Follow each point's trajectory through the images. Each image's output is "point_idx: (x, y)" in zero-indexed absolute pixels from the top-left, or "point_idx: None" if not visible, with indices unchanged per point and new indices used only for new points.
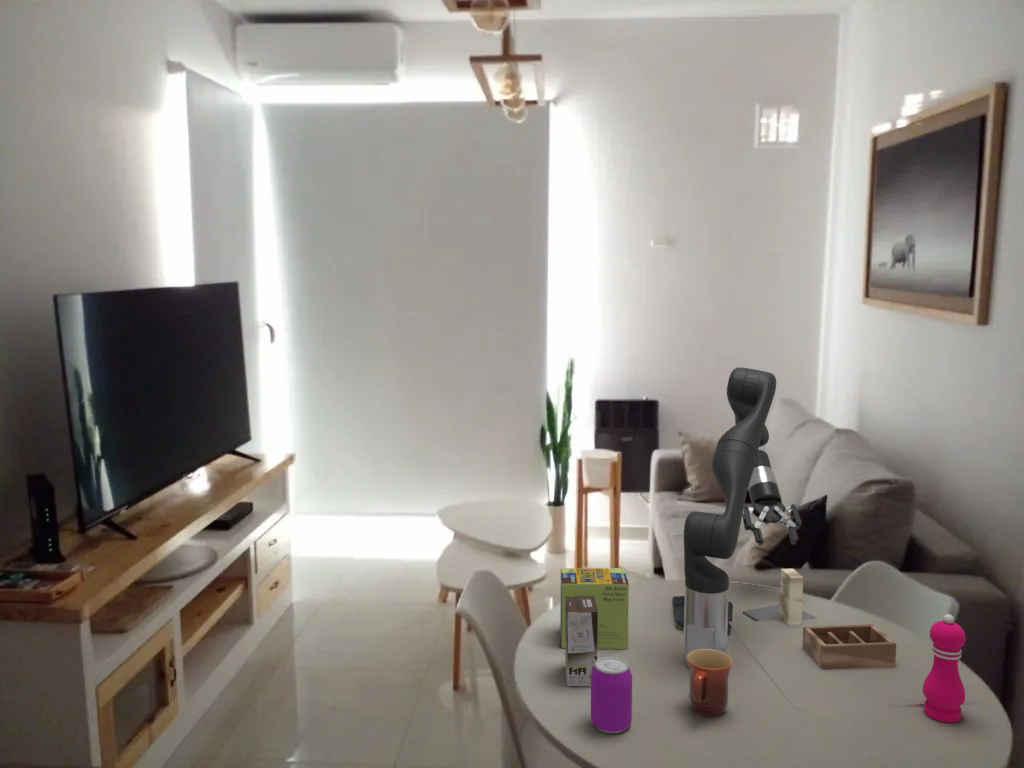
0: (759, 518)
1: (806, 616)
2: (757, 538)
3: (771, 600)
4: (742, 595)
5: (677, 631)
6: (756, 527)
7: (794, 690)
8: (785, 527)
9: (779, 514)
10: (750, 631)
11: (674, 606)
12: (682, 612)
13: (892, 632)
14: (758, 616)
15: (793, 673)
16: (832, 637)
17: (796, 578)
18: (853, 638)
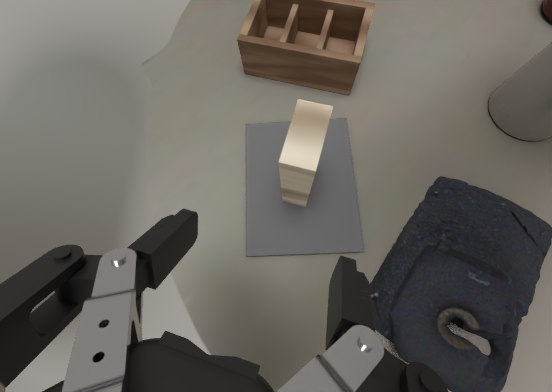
0: (340, 387)
1: (258, 187)
2: (366, 281)
3: (261, 291)
4: (306, 345)
5: None
6: (371, 330)
7: (426, 19)
8: (141, 317)
9: (126, 359)
10: (391, 178)
11: (517, 330)
12: (528, 265)
13: (170, 104)
14: (347, 217)
15: (402, 50)
16: (324, 41)
17: (316, 104)
18: (287, 41)
